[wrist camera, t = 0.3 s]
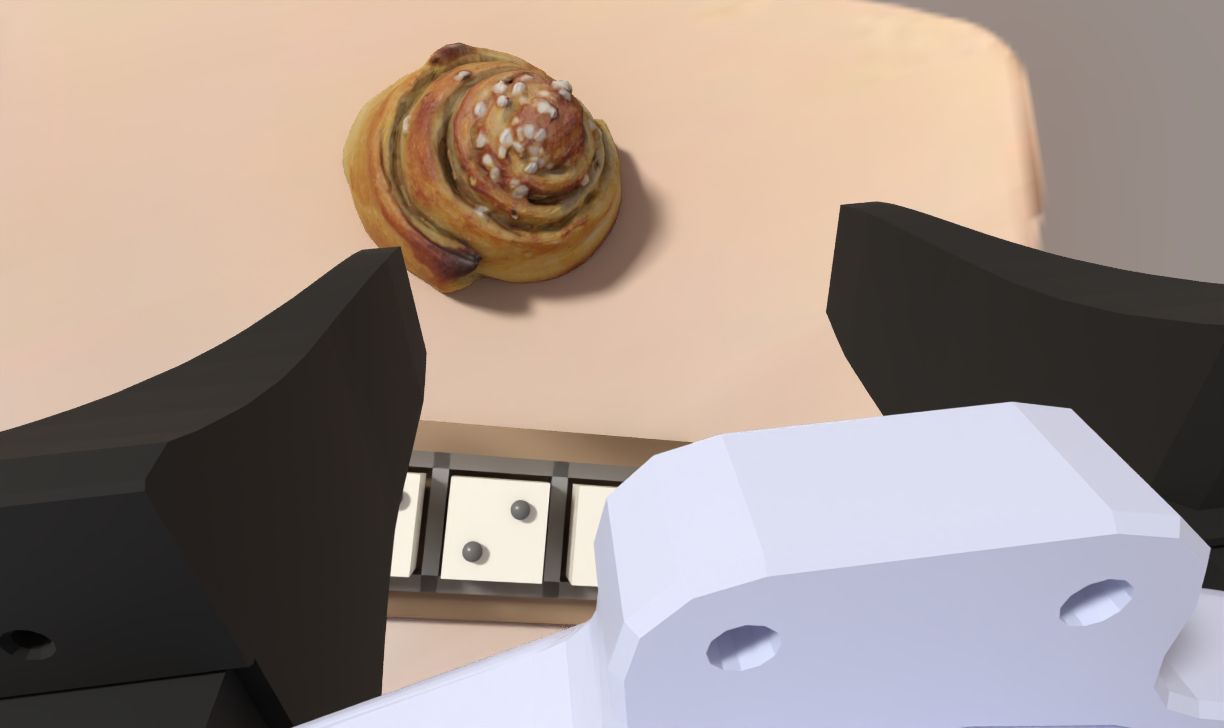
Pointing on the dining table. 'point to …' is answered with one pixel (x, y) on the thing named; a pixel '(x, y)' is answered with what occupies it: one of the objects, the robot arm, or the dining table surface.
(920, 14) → the dining table surface
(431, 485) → the board
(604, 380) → the dining table surface
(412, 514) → the tile three
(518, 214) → the pastry
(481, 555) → the tile two
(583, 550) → the tile one
